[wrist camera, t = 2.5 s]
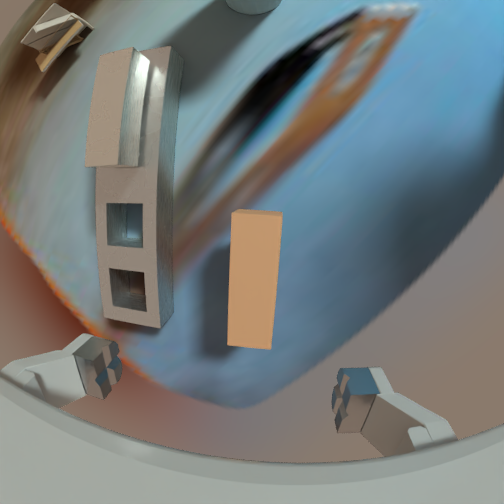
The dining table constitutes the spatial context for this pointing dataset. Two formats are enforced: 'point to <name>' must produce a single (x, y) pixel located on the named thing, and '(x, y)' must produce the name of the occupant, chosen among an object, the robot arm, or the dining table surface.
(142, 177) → the rail
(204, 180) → the dining table surface
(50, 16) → the architectural model
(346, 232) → the dining table surface
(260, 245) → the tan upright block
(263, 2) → the cup
